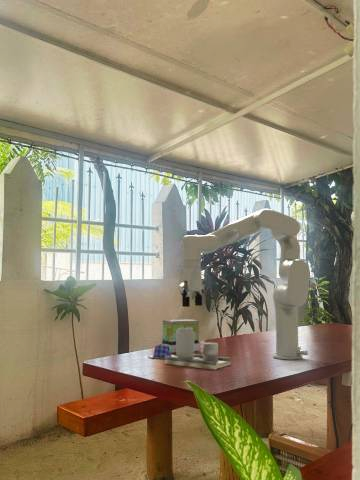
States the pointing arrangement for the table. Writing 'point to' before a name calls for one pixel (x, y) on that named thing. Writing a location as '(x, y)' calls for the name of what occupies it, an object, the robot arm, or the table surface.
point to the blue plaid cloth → (161, 352)
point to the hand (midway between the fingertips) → (192, 306)
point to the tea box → (172, 327)
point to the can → (185, 343)
